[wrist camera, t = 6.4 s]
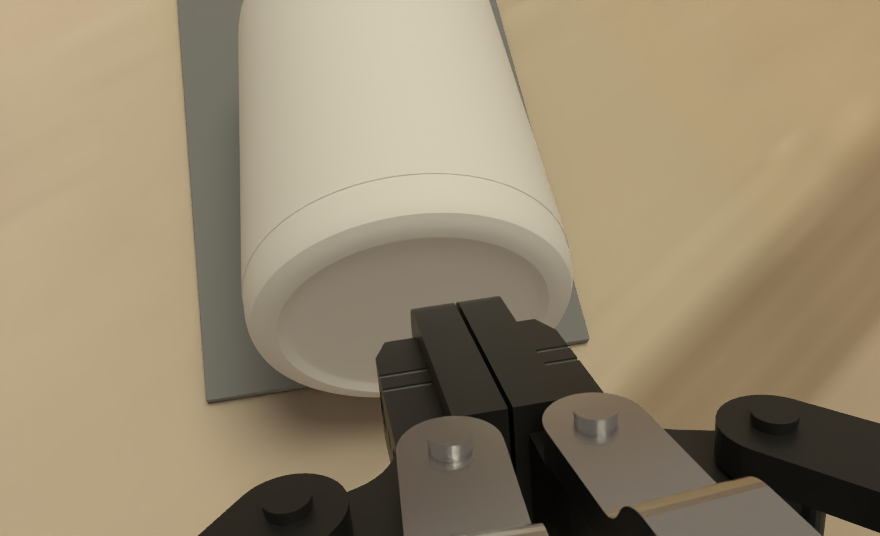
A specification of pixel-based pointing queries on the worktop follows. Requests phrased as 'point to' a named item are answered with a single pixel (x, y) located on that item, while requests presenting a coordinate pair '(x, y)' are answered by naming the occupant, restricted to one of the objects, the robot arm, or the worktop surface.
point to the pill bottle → (384, 181)
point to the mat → (218, 202)
